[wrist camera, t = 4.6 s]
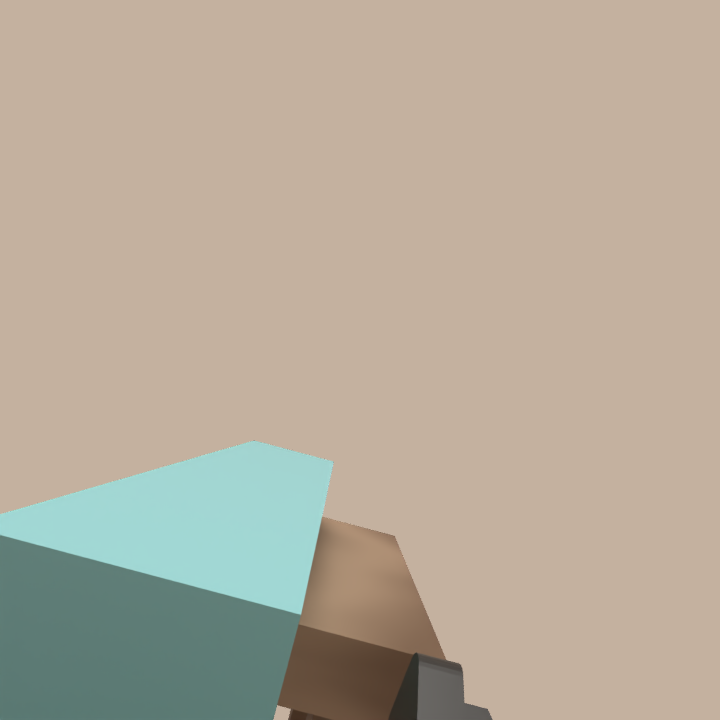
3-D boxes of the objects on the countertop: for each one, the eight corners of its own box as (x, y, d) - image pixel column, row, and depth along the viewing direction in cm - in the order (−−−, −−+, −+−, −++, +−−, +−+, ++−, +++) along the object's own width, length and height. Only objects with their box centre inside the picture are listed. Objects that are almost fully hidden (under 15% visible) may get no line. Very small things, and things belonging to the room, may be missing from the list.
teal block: (-122, 793, 7) (-37, 525, 7) (237, 501, 31) (254, 440, 31) (229, 885, 7) (301, 614, 7) (317, 522, 31) (333, 461, 31)
